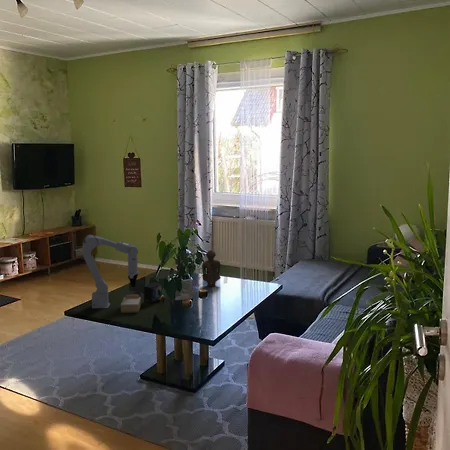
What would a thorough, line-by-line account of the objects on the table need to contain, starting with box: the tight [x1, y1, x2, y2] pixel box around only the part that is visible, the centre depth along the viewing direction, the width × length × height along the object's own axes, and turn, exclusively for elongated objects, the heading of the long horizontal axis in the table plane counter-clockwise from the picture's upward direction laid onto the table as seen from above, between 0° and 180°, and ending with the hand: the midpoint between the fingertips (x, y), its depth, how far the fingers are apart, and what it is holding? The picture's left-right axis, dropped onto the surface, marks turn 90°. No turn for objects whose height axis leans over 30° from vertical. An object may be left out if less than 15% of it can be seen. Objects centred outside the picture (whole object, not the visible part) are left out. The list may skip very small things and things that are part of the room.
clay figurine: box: [201, 250, 221, 288], centre depth 331 cm, size 13×10×25 cm
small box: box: [143, 281, 163, 305], centre depth 301 cm, size 11×6×10 cm, turn 148°
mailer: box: [120, 298, 142, 314], centre depth 287 cm, size 10×13×4 cm
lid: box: [120, 294, 142, 307], centre depth 286 cm, size 10×13×3 cm
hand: (133, 286), depth 296 cm, fingers closed
